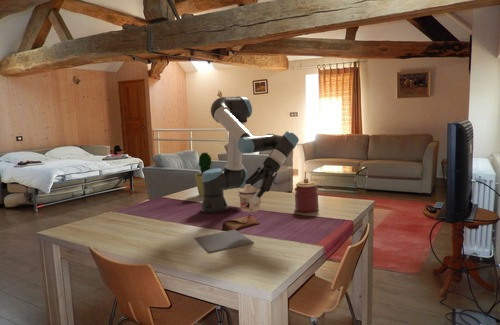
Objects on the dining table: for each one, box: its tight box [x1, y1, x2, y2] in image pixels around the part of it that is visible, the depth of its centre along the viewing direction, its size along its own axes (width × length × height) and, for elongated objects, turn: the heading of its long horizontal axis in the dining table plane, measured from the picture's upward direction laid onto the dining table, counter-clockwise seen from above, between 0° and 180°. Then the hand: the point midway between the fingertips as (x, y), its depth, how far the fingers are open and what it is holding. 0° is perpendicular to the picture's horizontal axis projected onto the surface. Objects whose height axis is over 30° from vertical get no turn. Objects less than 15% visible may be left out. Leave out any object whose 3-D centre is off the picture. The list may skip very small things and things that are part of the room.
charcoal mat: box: [194, 230, 255, 254], centre depth 164 cm, size 20×20×1 cm
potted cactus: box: [194, 152, 212, 198], centre depth 253 cm, size 15×15×30 cm
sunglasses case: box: [221, 214, 261, 231], centre depth 185 cm, size 18×7×7 cm, turn 129°
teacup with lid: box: [238, 184, 262, 213], centre depth 167 cm, size 12×9×12 cm
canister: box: [293, 177, 320, 213], centre depth 206 cm, size 13×13×18 cm
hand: (246, 200), depth 166 cm, fingers closed on teacup with lid, 12 cm apart
